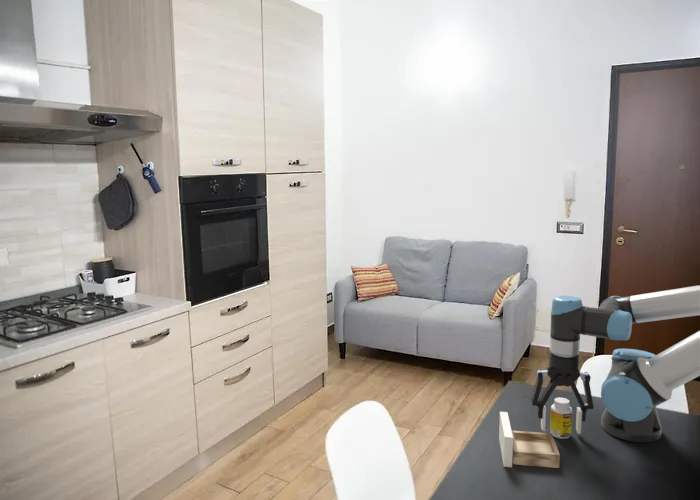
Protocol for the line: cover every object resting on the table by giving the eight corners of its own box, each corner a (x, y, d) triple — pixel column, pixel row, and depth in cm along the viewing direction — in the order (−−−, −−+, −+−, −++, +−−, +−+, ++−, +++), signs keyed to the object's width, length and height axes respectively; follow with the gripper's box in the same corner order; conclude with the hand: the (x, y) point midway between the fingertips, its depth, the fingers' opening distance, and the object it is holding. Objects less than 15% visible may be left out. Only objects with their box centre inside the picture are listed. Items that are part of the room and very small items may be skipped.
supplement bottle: (562, 441, 146) (564, 406, 144) (545, 433, 151) (546, 399, 149) (575, 435, 149) (577, 401, 147) (557, 428, 154) (559, 394, 152)
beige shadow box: (551, 445, 144) (551, 433, 144) (559, 468, 133) (559, 455, 133) (508, 442, 146) (509, 430, 146) (513, 464, 135) (513, 451, 135)
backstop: (506, 439, 148) (507, 412, 146) (512, 467, 134) (513, 437, 133) (499, 438, 148) (499, 411, 147) (503, 466, 134) (504, 436, 133)
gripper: (602, 349, 148) (597, 426, 151) (521, 346, 152) (518, 421, 155) (610, 359, 140) (605, 439, 144) (525, 355, 144) (522, 433, 148)
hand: (560, 429), depth 150 cm, fingers open, 9 cm apart
